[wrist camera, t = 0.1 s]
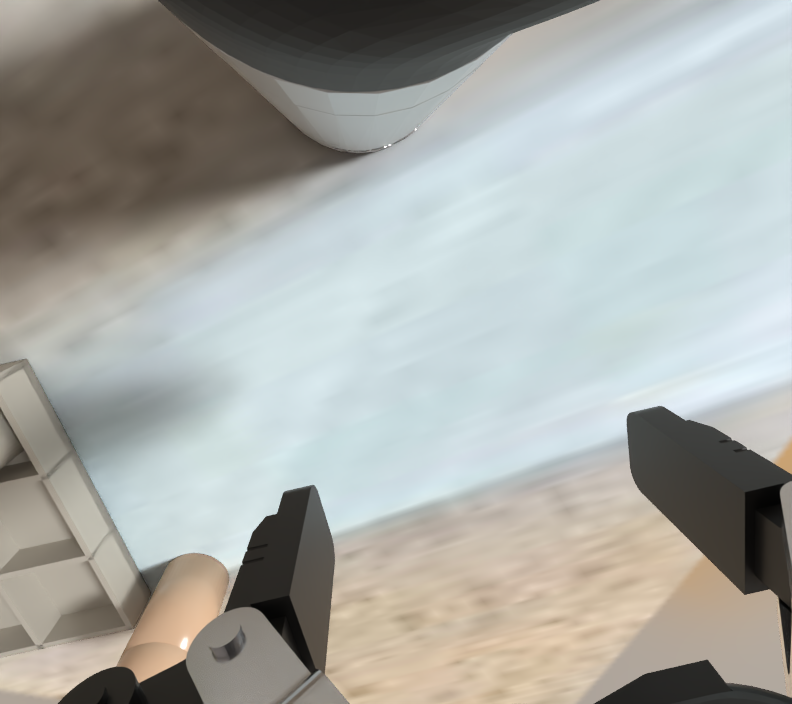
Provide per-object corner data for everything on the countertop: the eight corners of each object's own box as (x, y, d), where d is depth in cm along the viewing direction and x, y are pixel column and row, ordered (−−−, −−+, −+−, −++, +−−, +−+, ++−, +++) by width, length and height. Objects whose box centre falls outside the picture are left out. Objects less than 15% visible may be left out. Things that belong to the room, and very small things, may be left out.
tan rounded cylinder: (154, 561, 33) (78, 699, 24) (217, 547, 33) (164, 680, 24) (177, 607, 34) (115, 753, 26) (237, 594, 34) (195, 735, 26)
